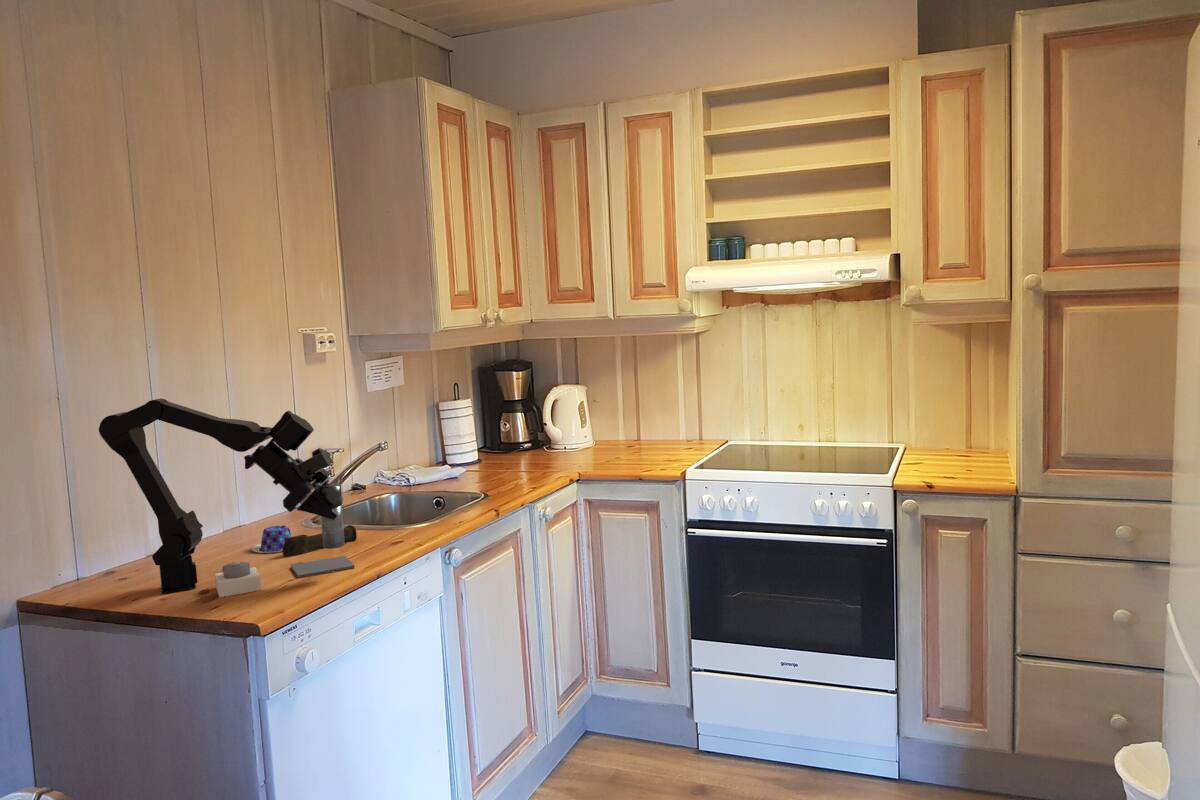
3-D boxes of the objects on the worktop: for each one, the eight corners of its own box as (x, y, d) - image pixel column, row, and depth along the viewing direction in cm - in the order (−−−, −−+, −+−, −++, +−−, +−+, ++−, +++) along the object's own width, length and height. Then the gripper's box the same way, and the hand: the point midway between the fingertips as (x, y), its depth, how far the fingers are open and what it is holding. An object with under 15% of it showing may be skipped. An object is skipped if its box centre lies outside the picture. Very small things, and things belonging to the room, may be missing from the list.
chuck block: (219, 597, 181) (216, 570, 181) (216, 587, 188) (213, 561, 188) (261, 589, 185) (258, 563, 184) (256, 580, 192) (254, 555, 191)
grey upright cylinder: (325, 550, 188) (321, 489, 186) (319, 545, 192) (315, 485, 190) (348, 546, 190) (344, 485, 189) (342, 541, 194) (337, 482, 193)
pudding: (283, 556, 212) (281, 534, 212) (240, 554, 216) (238, 533, 215) (313, 542, 224) (311, 522, 223) (272, 541, 227) (270, 521, 227)
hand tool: (349, 539, 225) (348, 521, 225) (358, 541, 222) (356, 523, 222) (278, 557, 212) (276, 537, 211) (286, 559, 209) (284, 540, 208)
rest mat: (298, 578, 192) (297, 575, 192) (290, 567, 201) (290, 564, 201) (354, 568, 197) (354, 565, 197) (345, 558, 206) (345, 555, 206)
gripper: (294, 445, 179) (354, 496, 181) (317, 432, 198) (371, 479, 199) (257, 486, 179) (317, 536, 181) (283, 469, 198) (338, 515, 200)
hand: (338, 515), depth 190 cm, fingers closed on grey upright cylinder, 4 cm apart
